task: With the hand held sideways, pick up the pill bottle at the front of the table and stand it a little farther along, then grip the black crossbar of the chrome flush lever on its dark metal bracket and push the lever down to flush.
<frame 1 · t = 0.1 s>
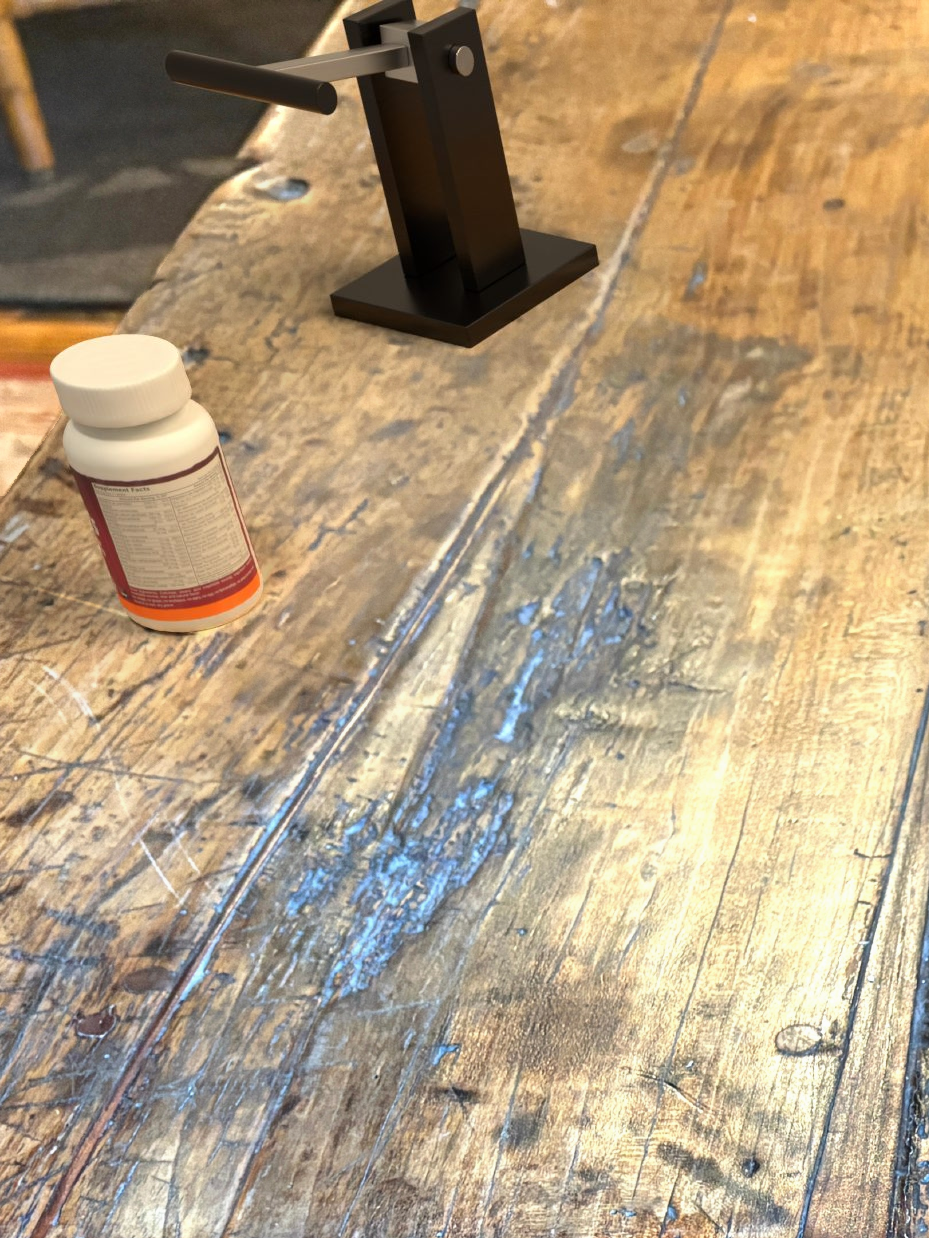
pill bottle: (198, 605, 101), on the table
flush lever: (342, 65, 110), point 13 cm above the table, hinge at 10.0°
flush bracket: (470, 291, 123), on the table
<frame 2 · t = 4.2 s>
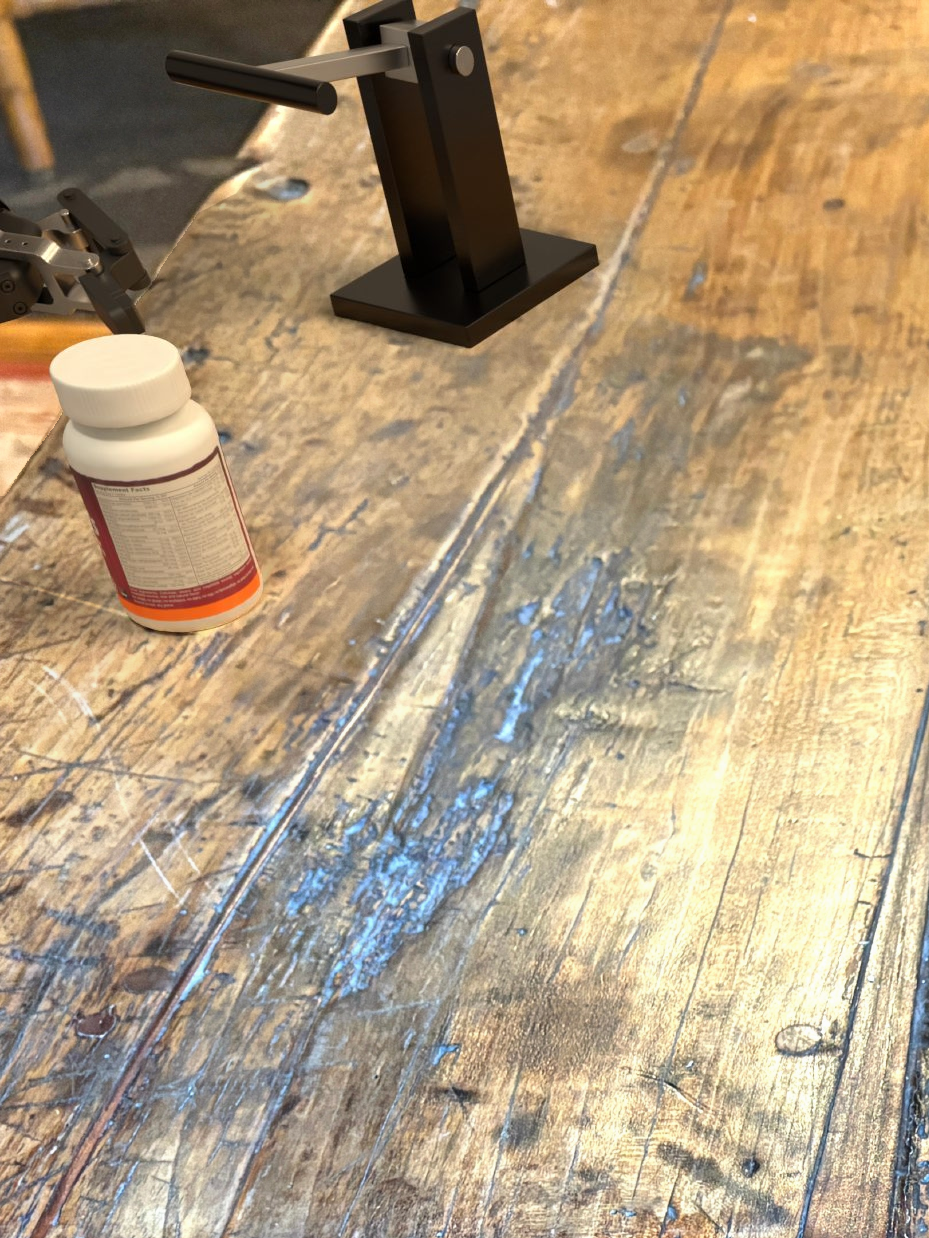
hand: (43, 371, 103), 6 cm above the table, tool horizontal, fingers open, 8 cm apart
nothing on the table moved.
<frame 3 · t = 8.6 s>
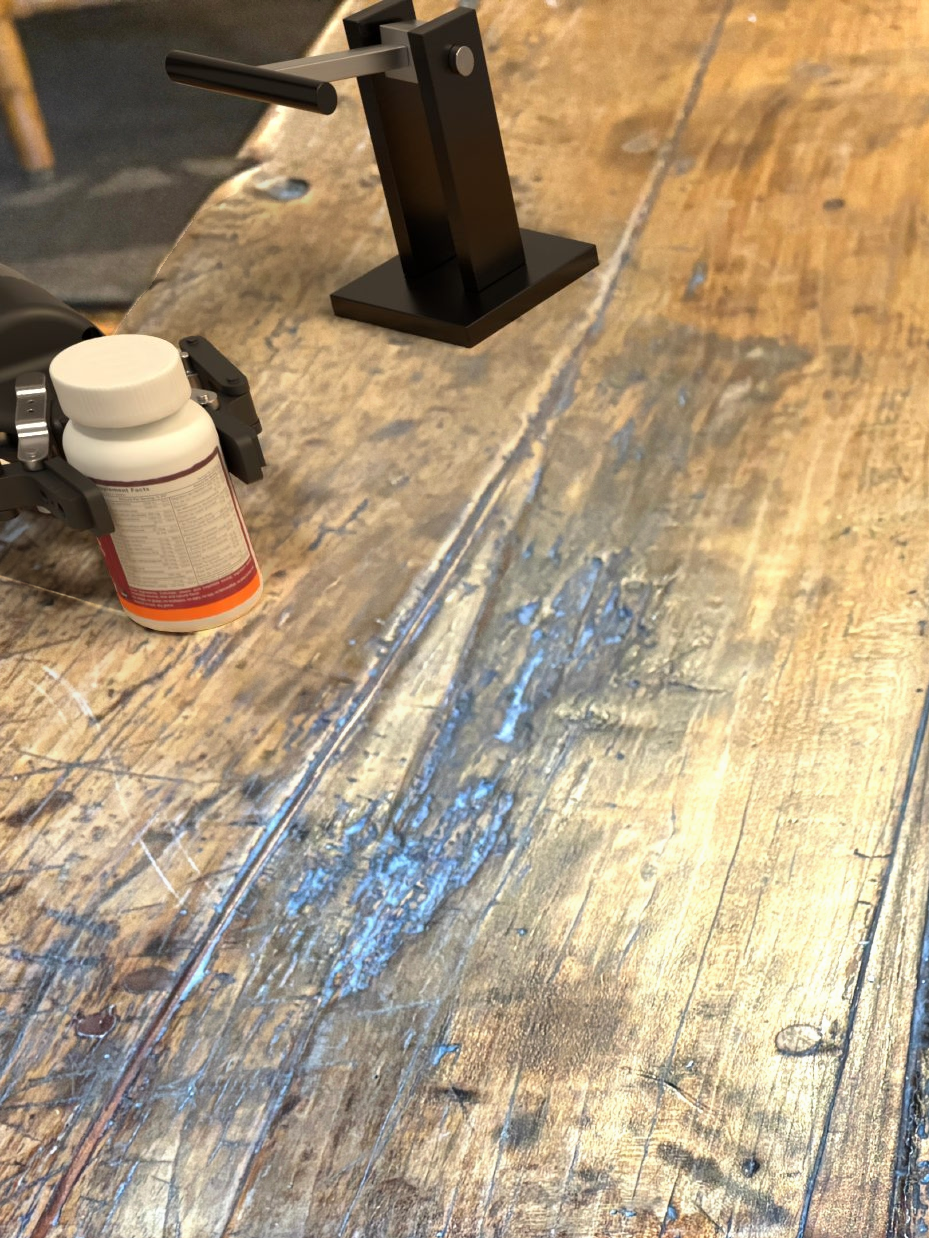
hand: (177, 487, 95), 7 cm above the table, tool horizontal, fingers closed on pill bottle, 6 cm apart
pill bottle: (198, 605, 101), on the table, touching gripper
everything else where it was.
when the fingers open (7 cm above the table, at t = 14.8 s): pill bottle stays where it is, on the table.
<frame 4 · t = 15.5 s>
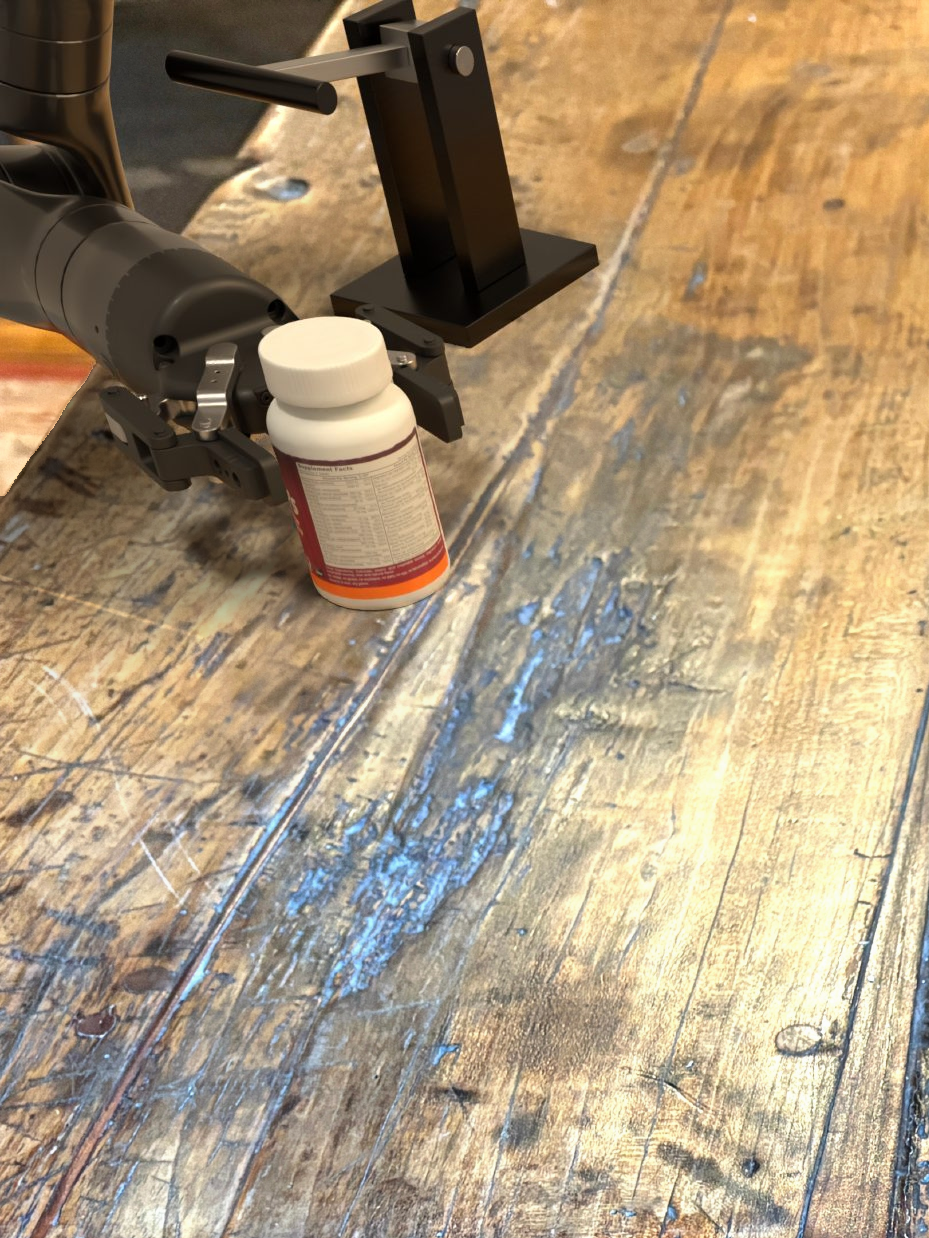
hand: (366, 451, 96), 7 cm above the table, tool horizontal, fingers open, 8 cm apart
pill bottle: (386, 584, 102), on the table
everything else where it was.
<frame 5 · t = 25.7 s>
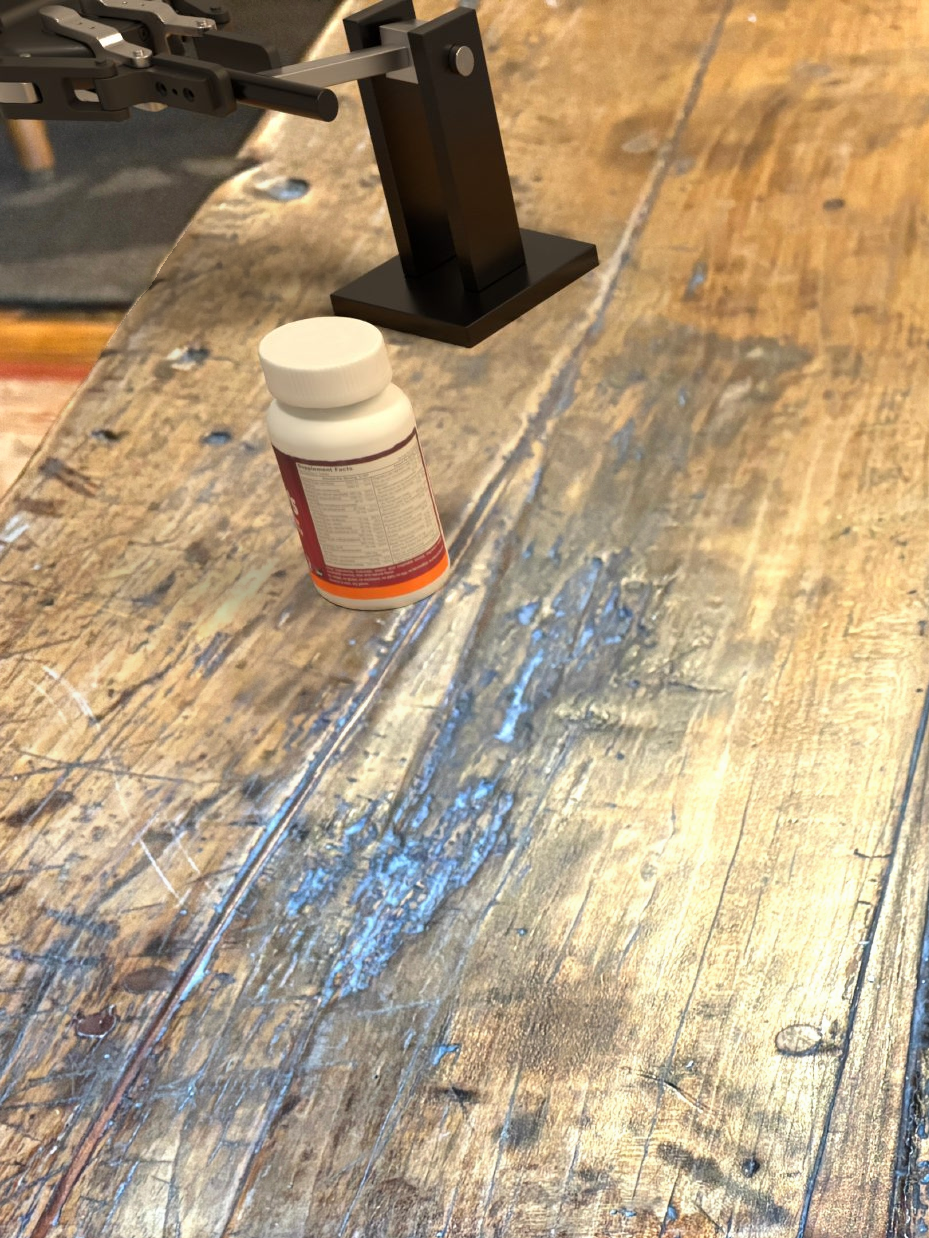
hand: (251, 79, 106), 14 cm above the table, tool horizontal, fingers closed on flush lever, 3 cm apart
flush lever: (342, 68, 110), point 13 cm above the table, hinge at 8.6°, touching gripper
everything else where it was.
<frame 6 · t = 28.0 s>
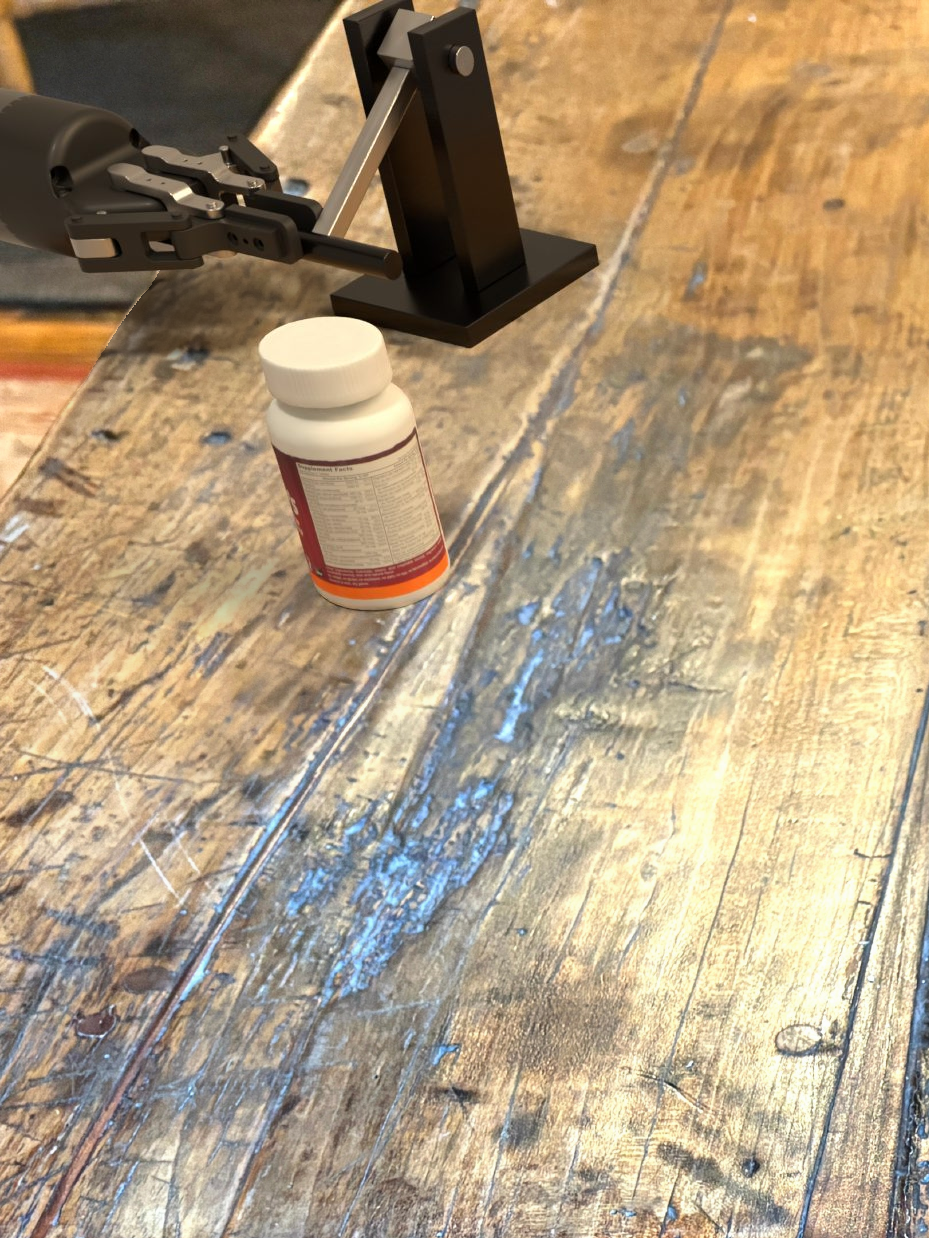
hand: (308, 233, 112), 7 cm above the table, tool horizontal, fingers closed, pressing on flush lever
flush lever: (372, 143, 113), point 9 cm above the table, hinge at -32.0°, touching gripper
everything else where it was.
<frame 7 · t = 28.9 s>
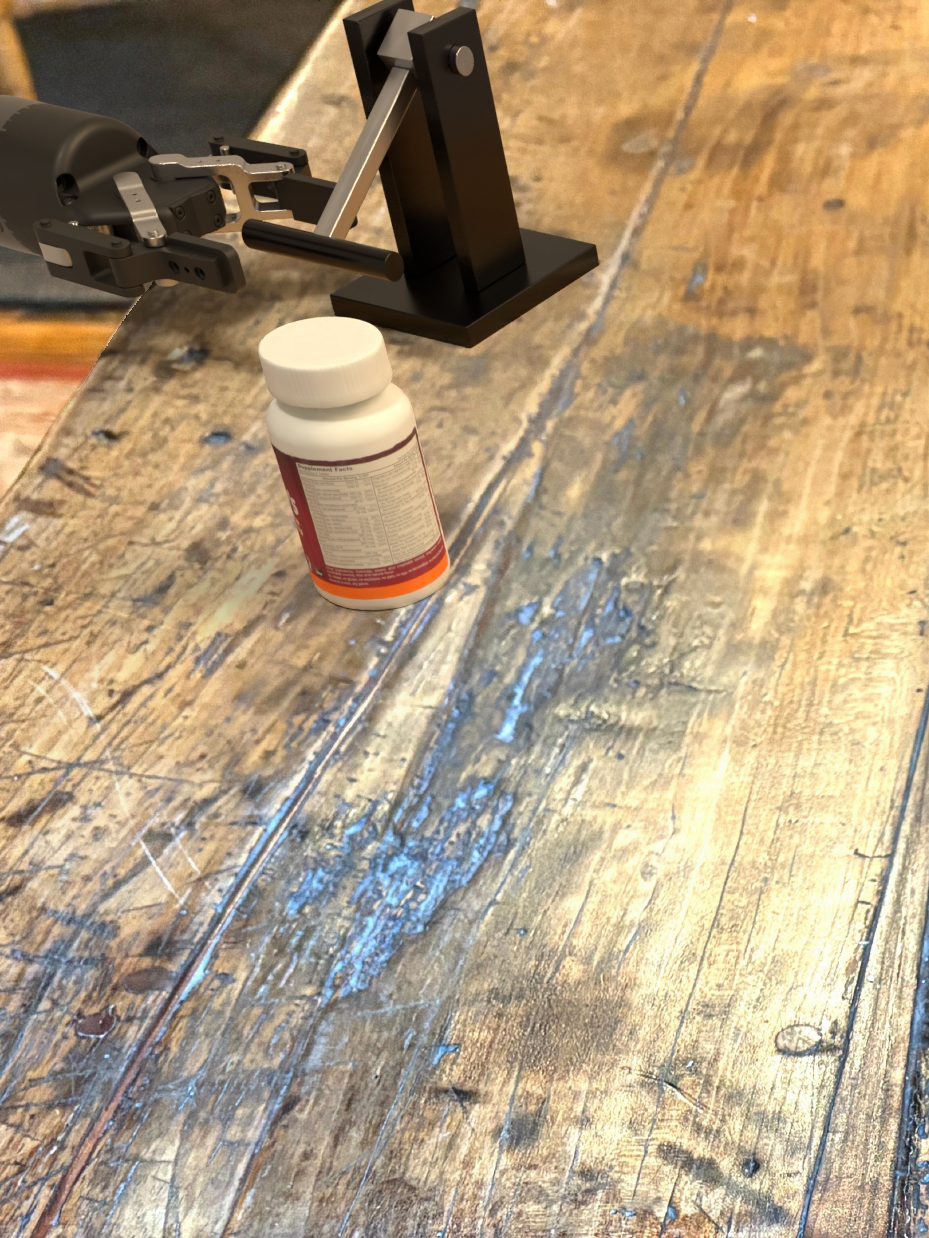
hand: (295, 239, 112), 7 cm above the table, tool horizontal, fingers open, 8 cm apart
flush lever: (373, 144, 114), point 9 cm above the table, hinge at -32.6°
everything else where it was.
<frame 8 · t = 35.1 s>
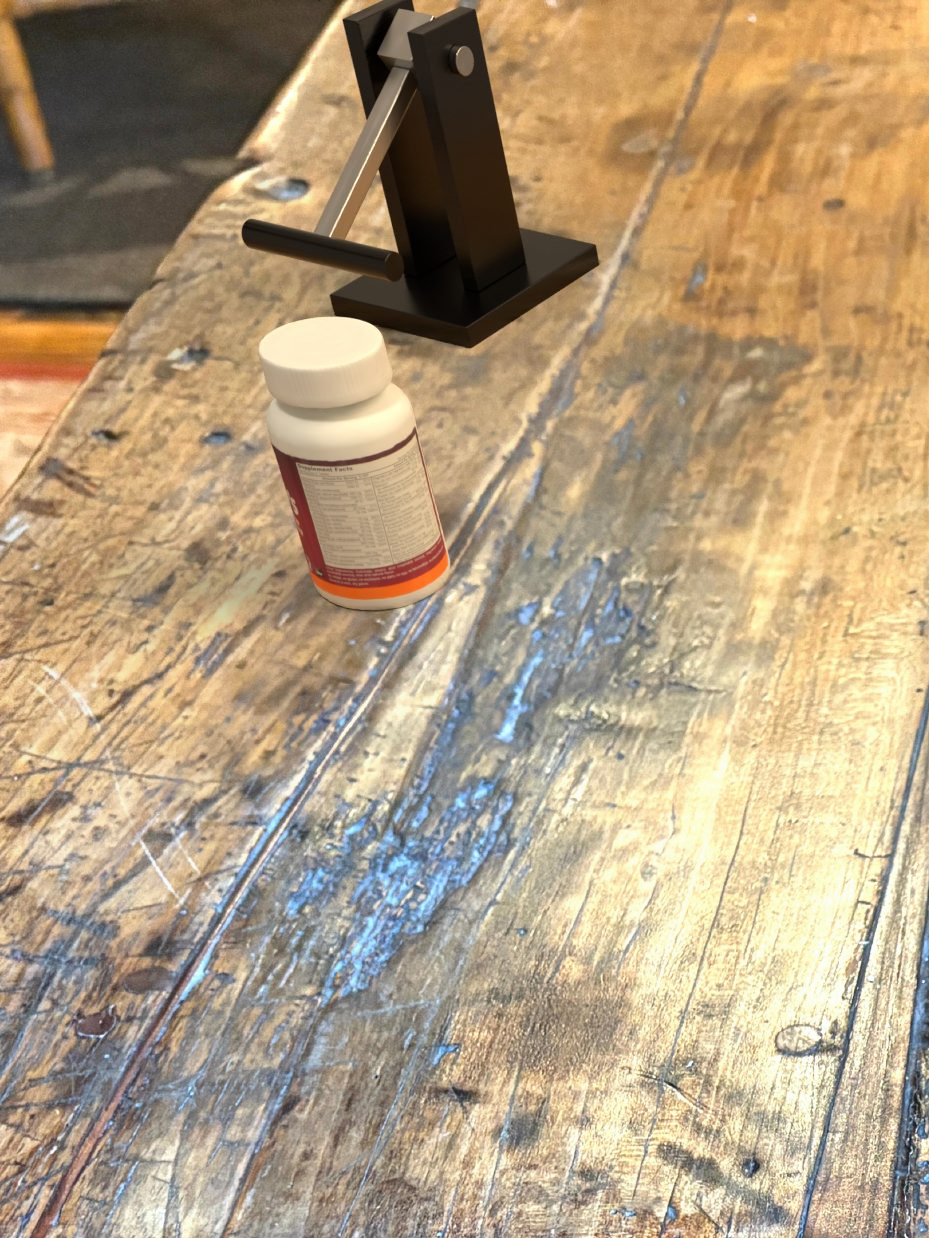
nothing on the table moved.
at the end: flush lever at -33° (first picture: +10°); pill bottle inside the target area (0.1 cm from its centre), on the table; pill bottle tilted 0° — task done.
